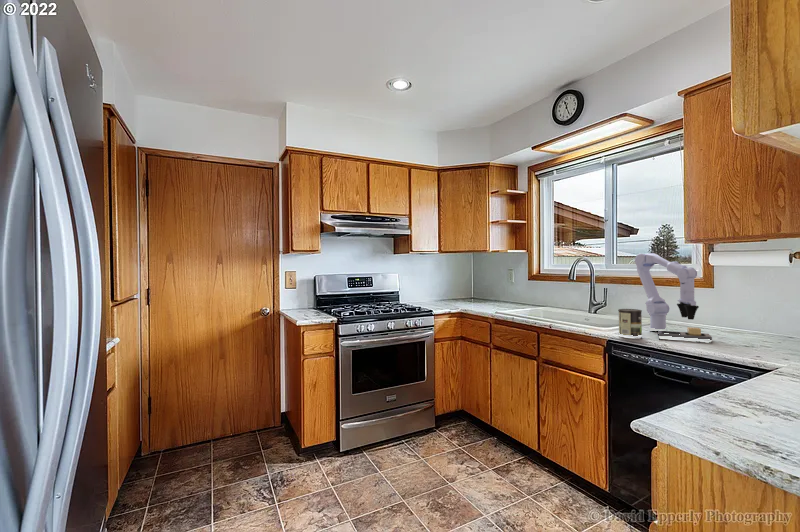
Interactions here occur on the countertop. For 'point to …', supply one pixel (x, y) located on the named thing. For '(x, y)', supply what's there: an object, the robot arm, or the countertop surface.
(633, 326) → the coffee can
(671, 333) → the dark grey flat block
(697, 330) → the tan rectangular block
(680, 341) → the countertop surface
